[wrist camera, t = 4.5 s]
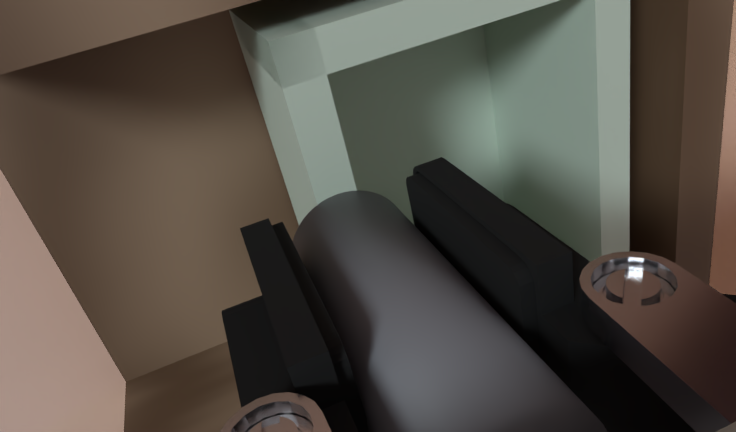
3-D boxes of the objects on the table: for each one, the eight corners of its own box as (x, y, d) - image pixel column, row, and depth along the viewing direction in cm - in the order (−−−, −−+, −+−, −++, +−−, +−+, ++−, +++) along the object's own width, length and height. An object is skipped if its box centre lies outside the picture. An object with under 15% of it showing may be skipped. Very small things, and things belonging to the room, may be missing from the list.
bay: (558, -165, 16) (752, -215, 11) (576, 216, 21) (707, 300, 16) (-85, -2, 12) (-236, 38, 7) (142, 392, 18) (142, 560, 13)
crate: (489, -66, 15) (1076, -75, 6) (518, 210, 19) (886, 476, 10) (195, 18, 14) (315, 200, 4) (295, 299, 18) (471, 715, 8)
